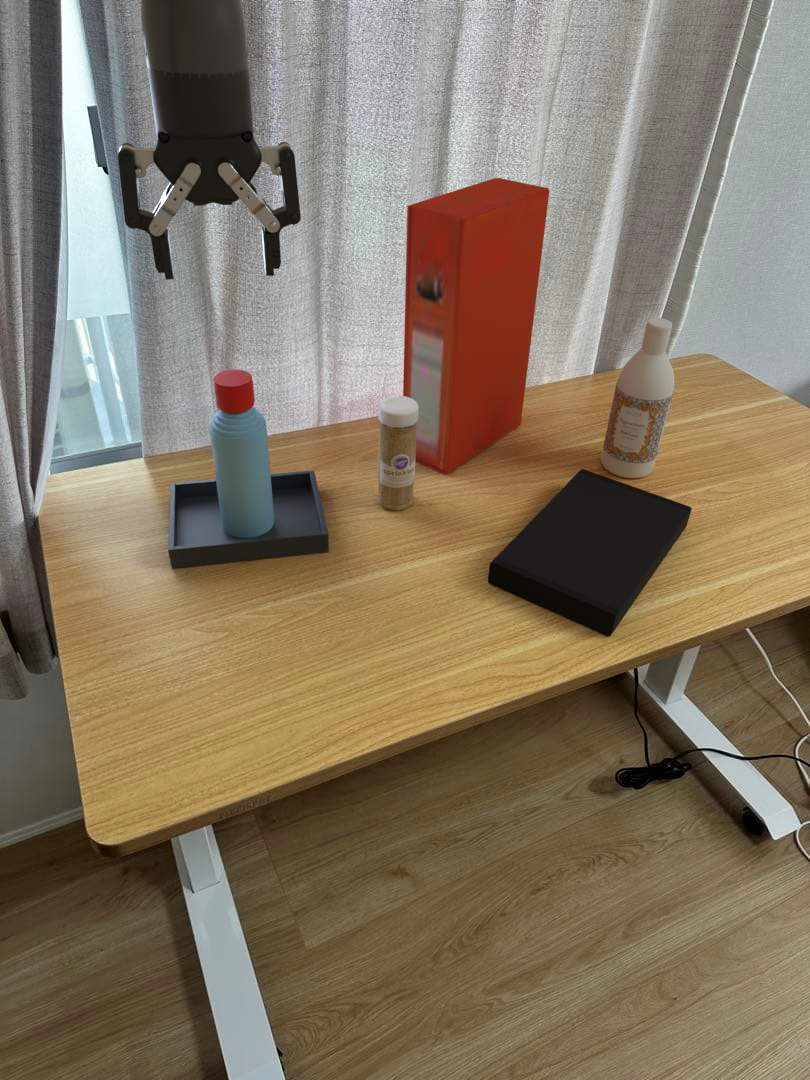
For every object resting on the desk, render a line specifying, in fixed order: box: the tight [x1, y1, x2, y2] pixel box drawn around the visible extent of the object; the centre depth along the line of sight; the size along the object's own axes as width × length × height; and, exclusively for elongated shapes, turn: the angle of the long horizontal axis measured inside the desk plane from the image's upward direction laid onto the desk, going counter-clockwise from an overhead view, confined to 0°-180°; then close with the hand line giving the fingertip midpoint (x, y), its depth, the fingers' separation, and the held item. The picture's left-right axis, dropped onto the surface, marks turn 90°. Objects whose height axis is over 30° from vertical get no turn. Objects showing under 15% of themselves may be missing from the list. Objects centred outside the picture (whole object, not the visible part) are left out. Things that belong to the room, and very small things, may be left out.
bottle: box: [208, 406, 274, 538], centre depth 88 cm, size 6×6×18 cm
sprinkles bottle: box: [376, 395, 419, 511], centre depth 95 cm, size 5×5×13 cm
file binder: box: [402, 177, 550, 475], centre depth 101 cm, size 8×17×32 cm, turn 141°
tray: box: [167, 470, 330, 570], centre depth 93 cm, size 17×13×3 cm
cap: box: [212, 369, 256, 413], centre depth 83 cm, size 4×4×3 cm
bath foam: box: [600, 317, 676, 479], centre depth 101 cm, size 7×7×20 cm
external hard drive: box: [487, 468, 693, 638], centre depth 91 cm, size 14×23×3 cm, turn 146°
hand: (220, 274), depth 71 cm, fingers open, 8 cm apart
